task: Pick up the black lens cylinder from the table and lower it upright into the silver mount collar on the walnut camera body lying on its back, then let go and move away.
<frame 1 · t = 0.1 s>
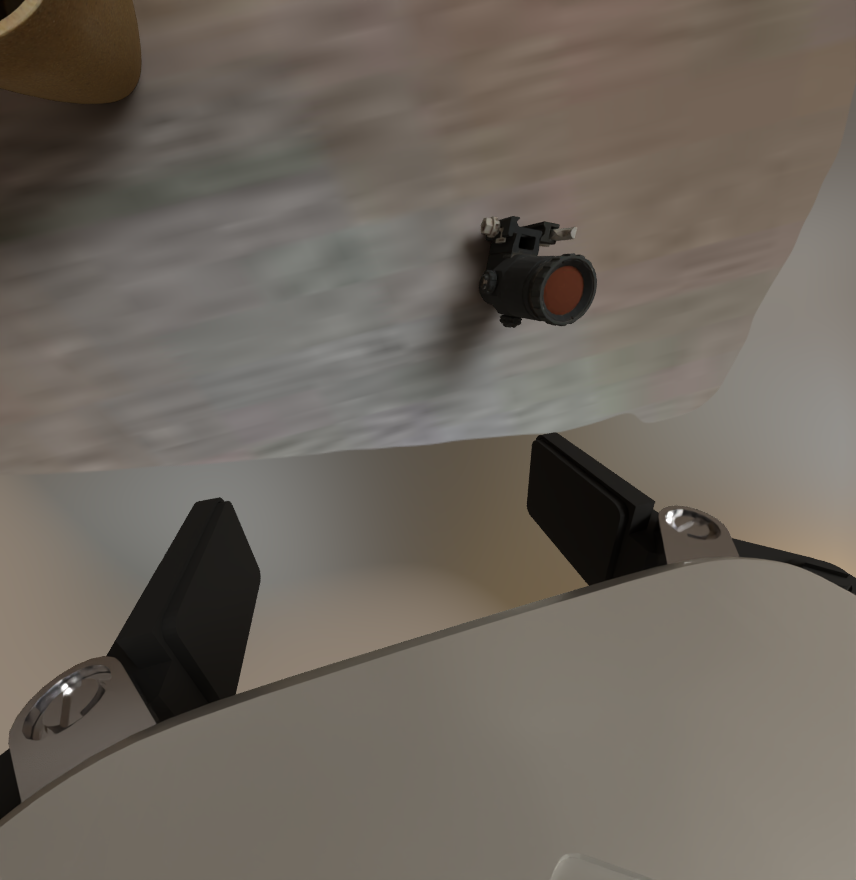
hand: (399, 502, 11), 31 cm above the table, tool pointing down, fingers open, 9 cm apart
scope: (497, 275, 39), on the table
plant pot: (81, 31, 24), on the table
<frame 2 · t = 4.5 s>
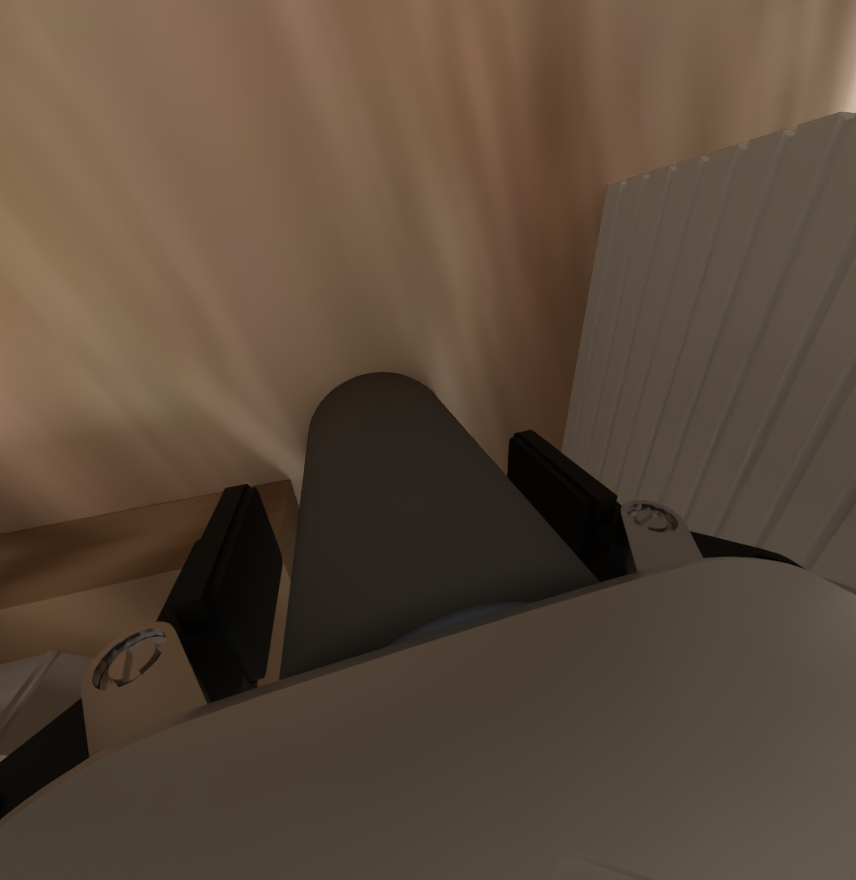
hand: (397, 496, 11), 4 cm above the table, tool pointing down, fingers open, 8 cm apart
stack of papers: (620, 503, 21), on the table
lens: (382, 441, 14), on the table
camera body: (124, 644, 15), on the table
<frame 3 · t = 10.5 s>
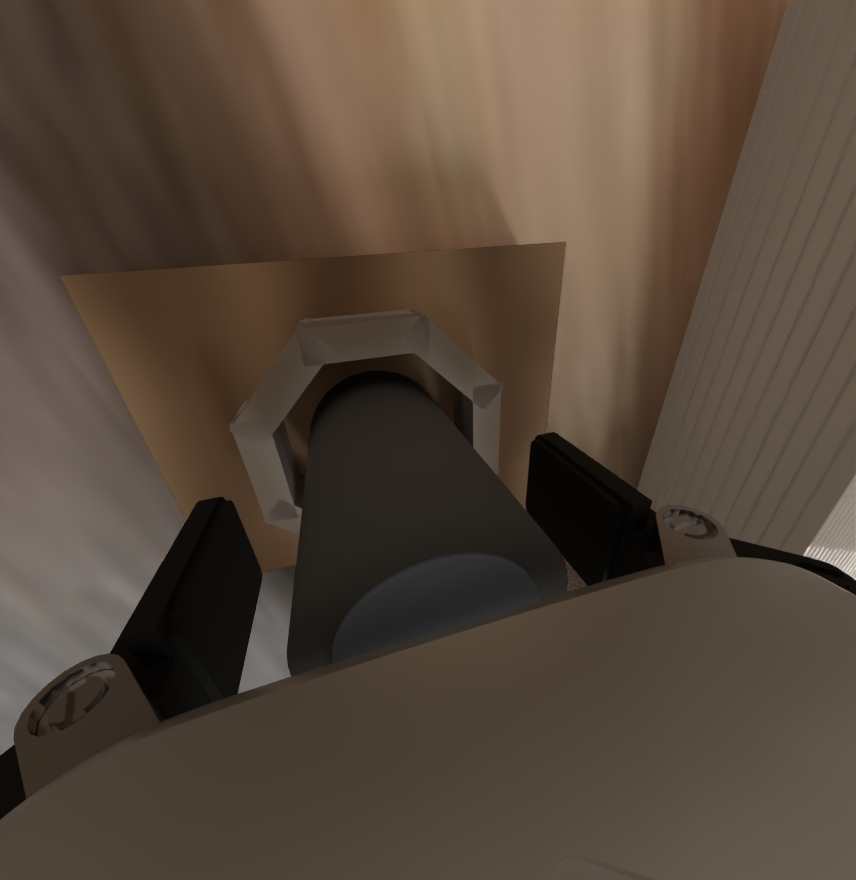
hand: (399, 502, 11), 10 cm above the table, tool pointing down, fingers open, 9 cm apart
stack of papers: (733, 339, 25), on the table
lens: (378, 434, 16), point 4 cm above the table, touching camera body
camera body: (367, 399, 19), on the table
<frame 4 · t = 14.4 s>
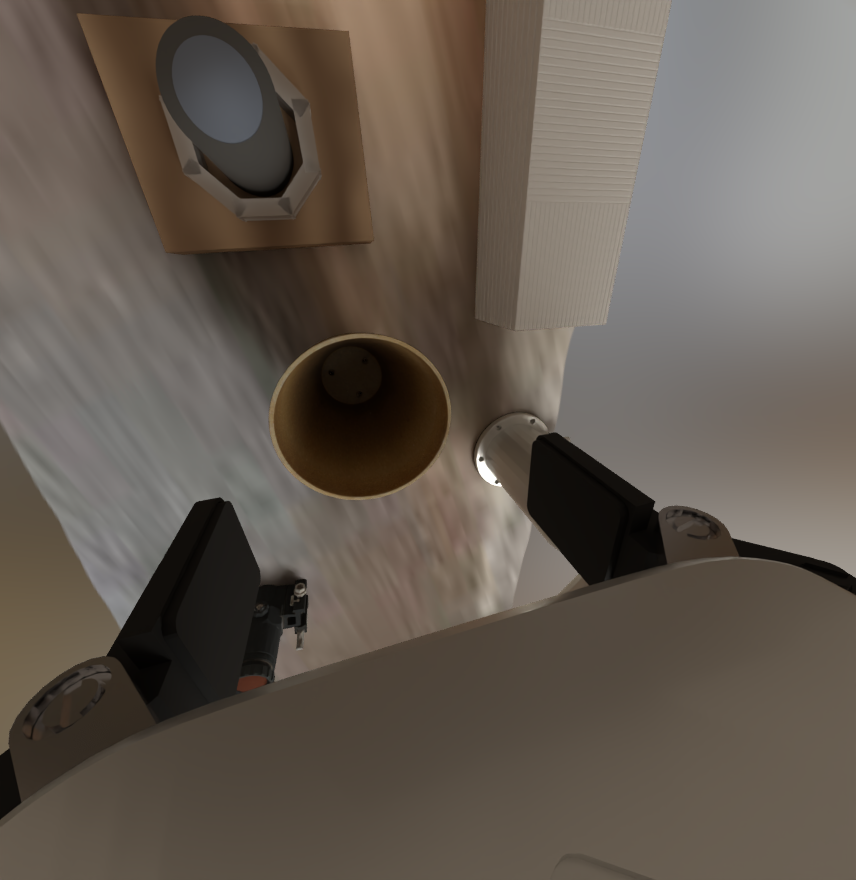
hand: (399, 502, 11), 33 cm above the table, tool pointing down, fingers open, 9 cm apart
scope: (274, 592, 53), on the table
stack of papers: (524, 161, 37), on the table
lens: (254, 152, 28), point 4 cm above the table, touching camera body
camera body: (260, 161, 31), on the table
plant pot: (353, 375, 42), on the table
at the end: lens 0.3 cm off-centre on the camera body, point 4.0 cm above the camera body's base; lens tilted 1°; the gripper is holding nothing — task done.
